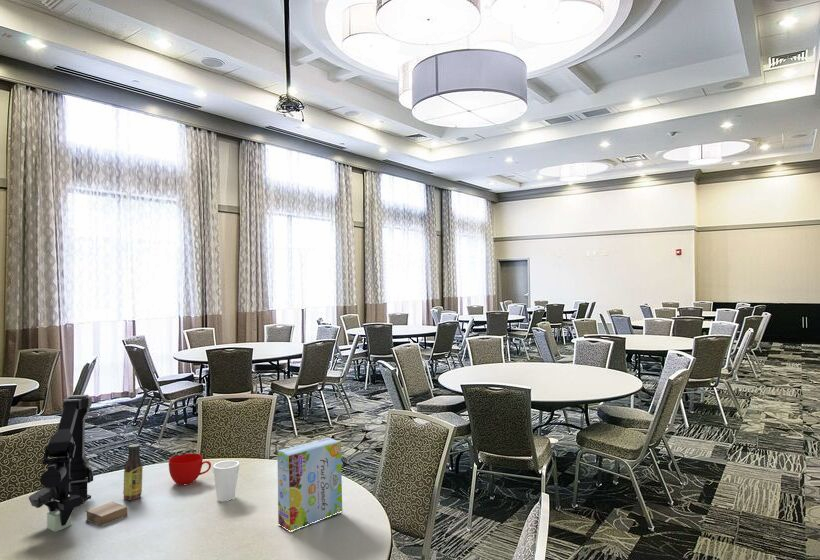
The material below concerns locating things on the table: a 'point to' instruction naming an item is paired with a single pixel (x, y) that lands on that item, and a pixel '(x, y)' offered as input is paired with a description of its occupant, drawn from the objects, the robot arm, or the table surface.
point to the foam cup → (226, 479)
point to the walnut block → (106, 513)
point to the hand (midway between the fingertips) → (59, 523)
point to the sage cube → (56, 521)
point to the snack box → (309, 482)
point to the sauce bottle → (133, 474)
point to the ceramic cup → (186, 468)
